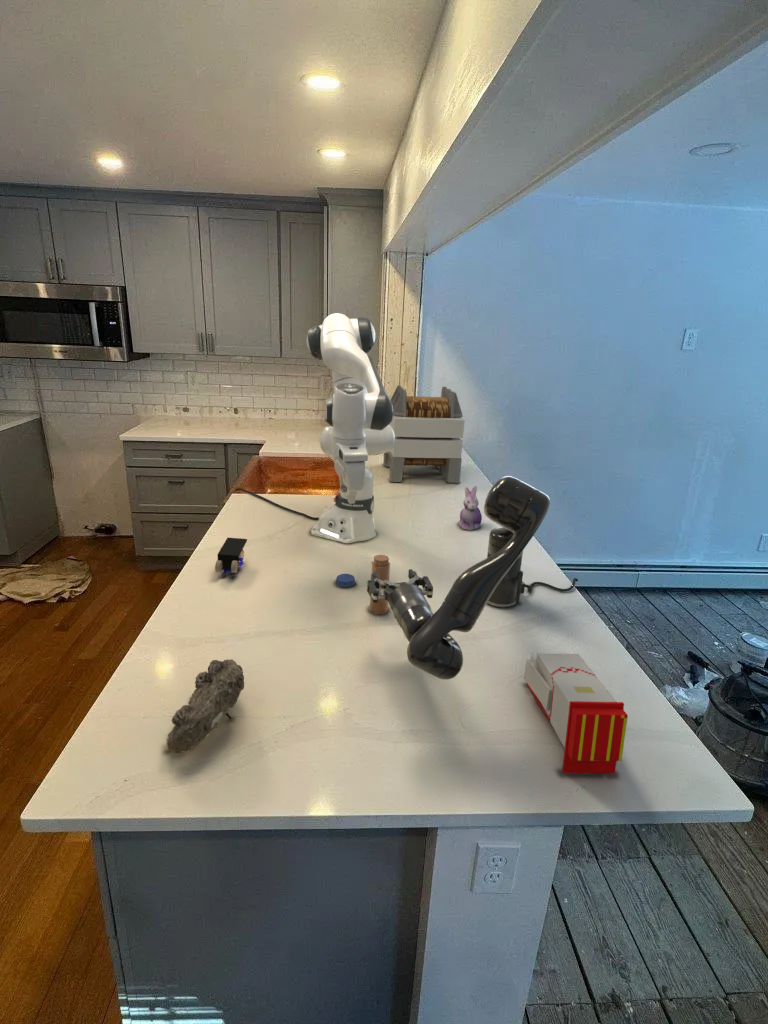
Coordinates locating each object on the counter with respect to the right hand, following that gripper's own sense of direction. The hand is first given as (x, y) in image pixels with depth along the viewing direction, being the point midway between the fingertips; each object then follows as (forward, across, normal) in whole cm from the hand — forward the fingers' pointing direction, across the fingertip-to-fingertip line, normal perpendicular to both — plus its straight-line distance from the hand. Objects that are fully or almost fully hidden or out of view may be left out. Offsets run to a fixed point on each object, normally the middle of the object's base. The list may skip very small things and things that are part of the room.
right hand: (392, 574), depth 134 cm
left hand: (+28, +6, -10) cm, 30 cm away
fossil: (-24, +41, +15) cm, 50 cm away
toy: (-37, -26, +16) cm, 48 cm away
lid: (+27, +6, +15) cm, 32 cm away
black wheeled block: (+41, +38, +16) cm, 58 cm away
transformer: (+136, -49, +19) cm, 146 cm away
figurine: (+66, -47, +17) cm, 83 cm away
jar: (+11, 0, +16) cm, 19 cm away
